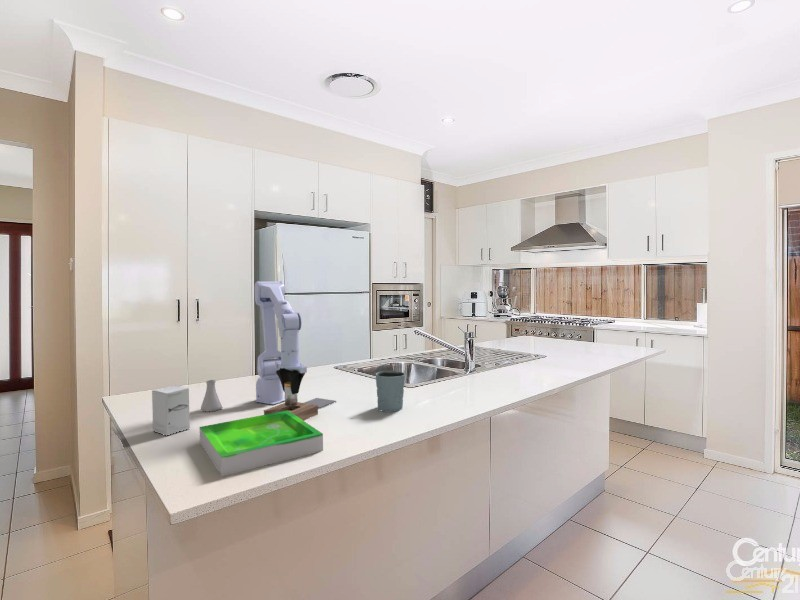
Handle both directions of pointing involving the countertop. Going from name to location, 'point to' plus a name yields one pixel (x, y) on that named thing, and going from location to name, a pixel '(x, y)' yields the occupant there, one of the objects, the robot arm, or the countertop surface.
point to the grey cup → (390, 390)
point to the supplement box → (170, 409)
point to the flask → (211, 398)
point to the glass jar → (290, 395)
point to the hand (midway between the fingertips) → (290, 392)
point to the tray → (258, 441)
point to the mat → (320, 402)
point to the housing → (296, 410)
